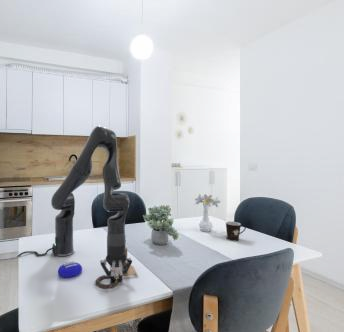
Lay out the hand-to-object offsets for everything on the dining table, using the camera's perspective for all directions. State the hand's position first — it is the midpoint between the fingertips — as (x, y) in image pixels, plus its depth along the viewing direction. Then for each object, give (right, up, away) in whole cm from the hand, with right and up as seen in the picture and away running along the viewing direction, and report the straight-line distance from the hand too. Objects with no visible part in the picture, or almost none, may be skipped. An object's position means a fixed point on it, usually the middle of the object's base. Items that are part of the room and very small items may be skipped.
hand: (116, 283), depth 100 cm
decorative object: (-21, 0, +7) cm, 22 cm away
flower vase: (+61, +3, +71) cm, 94 cm away
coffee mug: (+73, +2, +52) cm, 90 cm away
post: (+4, 0, +9) cm, 10 cm away
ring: (-4, +1, -1) cm, 4 cm away
